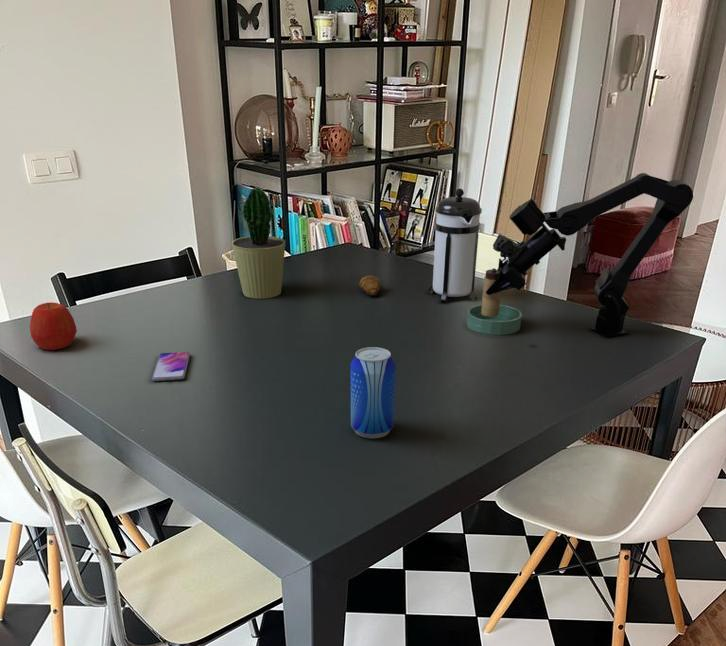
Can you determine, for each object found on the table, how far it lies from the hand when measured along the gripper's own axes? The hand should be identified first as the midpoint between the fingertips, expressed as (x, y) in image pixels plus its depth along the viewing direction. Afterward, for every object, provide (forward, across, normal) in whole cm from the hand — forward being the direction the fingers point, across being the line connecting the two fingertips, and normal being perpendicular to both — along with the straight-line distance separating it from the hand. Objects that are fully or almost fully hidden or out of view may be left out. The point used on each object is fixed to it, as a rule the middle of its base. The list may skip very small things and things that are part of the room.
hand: (486, 290), depth 189 cm
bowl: (+5, 0, +9) cm, 10 cm away
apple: (+81, +28, -68) cm, 109 cm away
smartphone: (+58, +38, -44) cm, 82 cm away
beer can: (+23, +63, -9) cm, 67 cm away
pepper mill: (+3, 0, +5) cm, 6 cm away
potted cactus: (+53, -20, -39) cm, 69 cm away
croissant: (+30, -26, -17) cm, 44 cm away
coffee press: (+14, -26, 0) cm, 29 cm away
